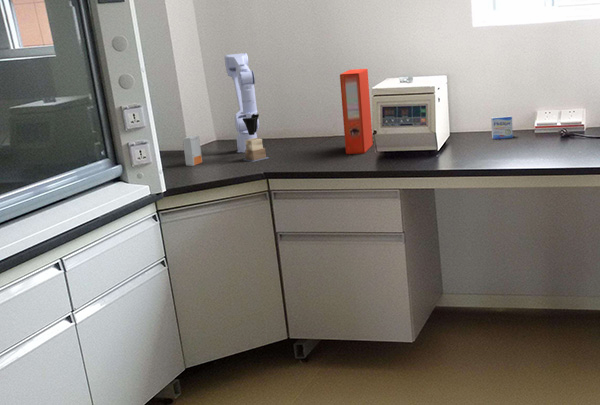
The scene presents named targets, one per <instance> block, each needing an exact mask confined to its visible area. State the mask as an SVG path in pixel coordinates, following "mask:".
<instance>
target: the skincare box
mask: <svg viewBox="0 0 600 405" xmlns="http://www.w3.org/2000/svg"><path fill="white" fill-rule="evenodd" d="M200 141H201V140H200V136H199V135H190V136H186V137H183V138H182V144H183V152H184V159H185V160H184V161H185V165H186V166H189V167H190V166H192V167H194V166H196V165H198V164H201V163H203V158H202V148H201V142H200Z"/></svg>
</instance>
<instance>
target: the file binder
mask: <svg viewBox="0 0 600 405" xmlns="http://www.w3.org/2000/svg"><path fill="white" fill-rule="evenodd" d="M368 72H369V70H368V68H359V69H358V68H356V69H354V68H353V69H348V70H346V71H344V72H341V73H339V82H340V94H341V96H340V97H341V106H342V120H343V131H344V132H343V133H344V143H345V144H344V147H345V154H346V155H354V154H355V155H356V154H366V152H368V151H369V149H370V148H371V147H373V145H374V144H373V143H374V142H373V127H372V126H373V125H372V117H371V116H372V113H371V100H370V99H371V98H370V88H369V87H370V85H369V84H370V83H369V73H368Z"/></svg>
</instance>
